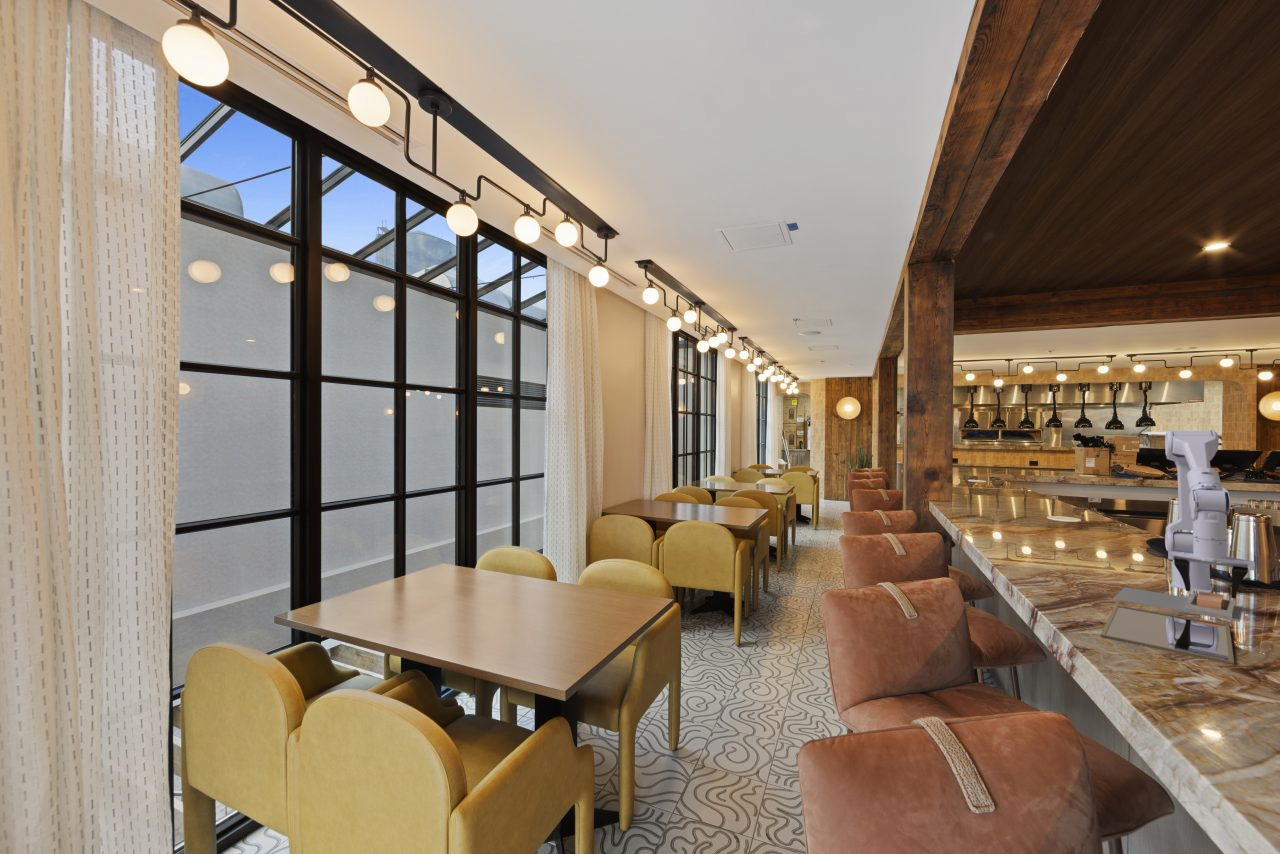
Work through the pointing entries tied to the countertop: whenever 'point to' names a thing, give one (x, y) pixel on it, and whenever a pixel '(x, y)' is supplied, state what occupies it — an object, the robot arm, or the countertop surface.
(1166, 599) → the mat
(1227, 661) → the framed mirror
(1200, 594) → the tall peach block
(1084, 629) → the countertop surface
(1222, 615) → the tray frame
